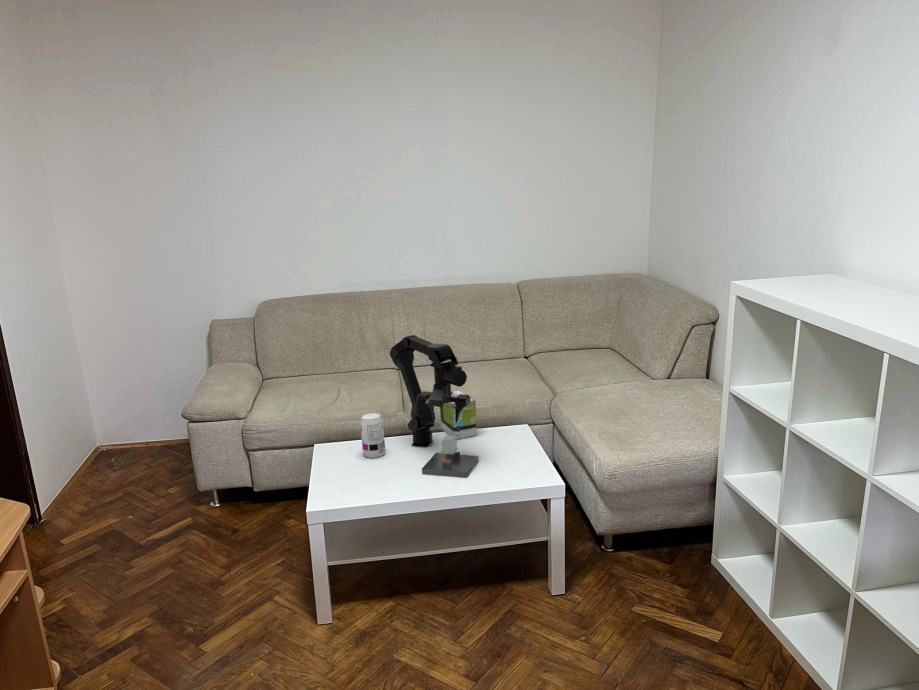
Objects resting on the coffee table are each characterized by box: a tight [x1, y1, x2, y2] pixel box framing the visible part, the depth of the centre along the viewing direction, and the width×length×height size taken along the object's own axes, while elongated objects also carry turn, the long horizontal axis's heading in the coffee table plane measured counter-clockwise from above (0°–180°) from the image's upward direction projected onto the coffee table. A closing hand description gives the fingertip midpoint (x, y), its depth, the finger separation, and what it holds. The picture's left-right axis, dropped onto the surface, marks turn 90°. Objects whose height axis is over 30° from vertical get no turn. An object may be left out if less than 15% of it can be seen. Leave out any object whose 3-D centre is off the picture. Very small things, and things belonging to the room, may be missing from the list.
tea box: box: [439, 390, 478, 440], centre depth 281 cm, size 15×10×15 cm
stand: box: [421, 451, 480, 479], centre depth 250 cm, size 16×14×4 cm
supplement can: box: [359, 412, 386, 459], centre depth 264 cm, size 8×8×15 cm
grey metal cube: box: [441, 435, 458, 454], centre depth 248 cm, size 4×4×5 cm
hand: (444, 421), depth 259 cm, fingers open, 9 cm apart
